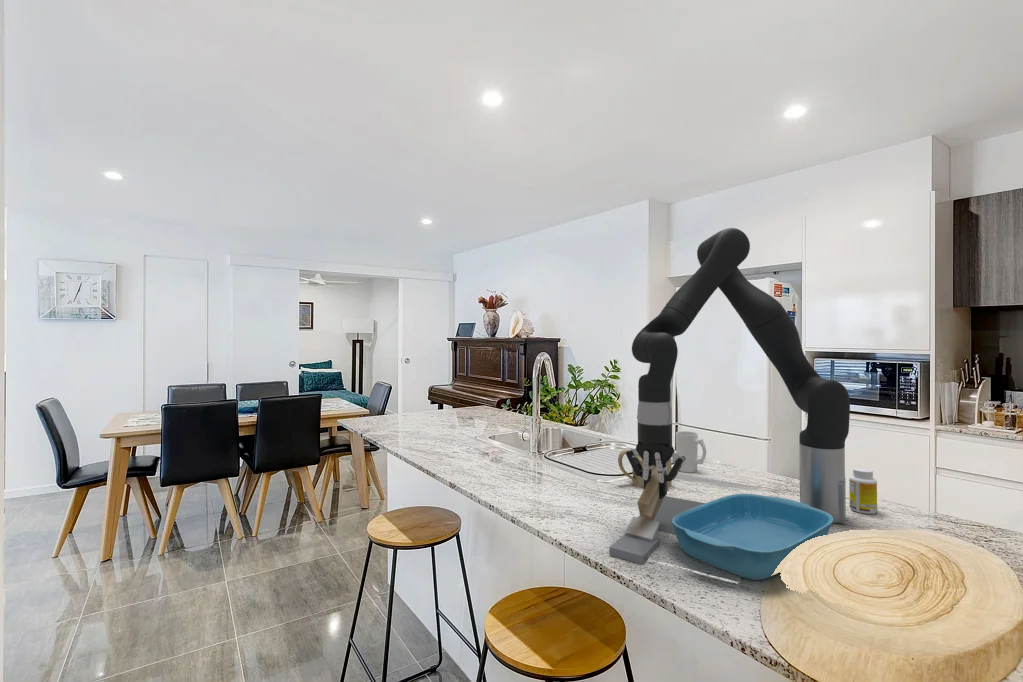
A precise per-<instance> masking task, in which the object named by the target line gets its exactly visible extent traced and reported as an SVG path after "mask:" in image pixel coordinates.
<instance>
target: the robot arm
mask: <svg viewBox="0 0 1023 682" xmlns="http://www.w3.org/2000/svg"><path fill="white" fill-rule="evenodd" d="M750 245H751V244H750V240H749V238H748V236H747V234H746V233H745V232H744V231H742V230H741V229H738V228H736V227H728V228H725V229H722V230H719V231H717V232H716V233H714V234H713V235H711V236H710V237H707V238H706V239H705V240H704V241H702V242H701V243H700V244H699V245H698V248H697V251H696V256H697V260H698V263H699V265H700V267H699V268H698V269H697V270H696V271H695V273H693V275H692V276H690V278H689V279H688V280H686V281H685V282H684V284H682V285H681V286H680V287H679V289H677V291H676V292H675V293H674V294H673V295H672V296H671V298H670V299H669V300H668V301H667V303H666V304H665V306H664V307H663V308H662V310H661V312H660V313H659V314H658V315H657V316H655V318H653V319H652V320H651V321H649V323H647V324H646V325H645V326H644V327H643V328H641V329H640V331H638V333H637V334H636V336H635V337H634V339H633V341H632V344H631V354H632V357H634V359H635V361H638V362H640V363H642V364H643V363H644V364H649V369H648V372H647V373H646V374H643V375H641V376H640V377H639V378H638V389H637V390H638V392H637V393H638V394H637V395H638V404H637V413H636V419H637V444H636V447H635V448H633V449H628V450H629V451H627V452H626V454H625V456H626V458H627V459H628V461H629V464H630V466H631V468H633V470H634V472H635V474H636V476H640V477H642V478H643V480H644V488H643V490H644V489H645V487H646V485H647V483H648V482H649V481H650V478H651V476H652V468H653V465H654V466H656V467H657V472H658V478H659V482H658V484H659V499H663V498H664V497H665V496H668V495H667V494H668V491H667V481H671V482H673V480H674V479H676V477H677V475H678V473H680V471H679V470H680V469H681V467H682V465H683V463H684V462H685V460H686V459H685V457H684V456H679V455H678V454H676V451H675V449H674V447H673V409H672V404H671V403H672V402H671V401H672V400H671V398H672V395H671V392H672V391H671V384H672V383H671V382H672V379H673V375H674V371H675V368H676V364H677V361H678V359H677V358H678V355H679V354H678V352H679V351H678V345H677V342H676V339H675V337H678V336H681V335H683V334H684V333H685V332H686V331H687V330H688V328H689V327H690V325H691V324H692V323H693V321H694V320H695V319H696V317H697V316H698V314H699V313H700V312H701V310H702V308H703V307H704V306H705V304H706V303H707V301H708V300H709V299H710V298H711V297H712V295H713V294H714V293H715V291H717V290H718V289H719V290H720V291H721V292H722V293H723V295H724V296H725V298H726V299H727V300H728V302H729V303H730V305H731V306H732V308H733V309H734V310H735V312H736V313H737V314H738V316H739V317H740V319H741V320H742V321H743V323H744V325H745V327H746V328H747V330H748V331H749V333H750V334H751V335H752V337H753V339H754V340H755V342H757V344H758V346H759V347H760V348H761V350H762V351H763V352H764V354H765V355H766V357H767V358H768V359H769V361H770V363H772V365H773V367H775V369H776V370H777V372H778V373H779V375H780V377H781V379H782V380H783V383H784V384H785V386H786V388H787V390H788V392H789V394H790V396H791V398H792V400H793V402H794V403H795V405H796V406H797V407H798V408H799V409H800V410H801V411H803V412H804V413H806V414H807V420H806V421H807V422H806V427H805V429H803V430H801V431H800V432H799V435H798V436H799V437H798V438H799V441H798V442H799V443H798V444H799V449H798V450H799V452H798V453H799V454H798V455H799V502H801V503H805V504H807V505H809V506H811V507H813V508H816V509H819V510H822V511H825V512H827V513H829V514H830V515H831V516H832V517H833V522H832V524H843V525H845V524H846V516H847V515H846V513H847V512H846V508H847V507H846V502H847V501H846V494H847V493H846V488H847V487H846V461H845V460H846V459H845V458H846V452H845V451H846V449H845V447H846V441H847V437H848V435H849V432H850V414H851V413H850V412H851V401H850V400H851V399H850V394H849V392H848V390H847V388H846V387H845V386H844V385H843V384H842V383H840V382H838V381H837V380H834V379H829V378H823V377H822V376H821V375H820V374H819V373H818V372H817V371H816V370H815V368H814V367H813V366H812V364H811V363H810V362H809V361H808V359H807V357H806V355H805V353H804V350H803V348H802V347H803V346H802V344H801V337H800V335H799V334H800V333H799V331H798V329H797V326H796V324H795V323H794V320H792V317H790V315H789V313H788V312H787V311H786V309H785V307H784V306H783V305H782V304H781V303H780V301H779V300H777V299H776V298H774V297H773V296H772V295H770V294H769V293H767V292H765V291H764V290H762V289H760V288H759V287H757V286H755V285H754V284H752V283H751V282H750V281H749V280H748V279H747V278H746V277H745V276H744V275H743V273H742V271H741V270H740V269H739V268H738V267H739V266H740V265H741V264H742V263H743V262H744V261H745V260H746V259H747V257H748V256H749V254H750V250H751V246H750ZM638 454H639V455H640V457H641V458H642V460H643V468H642V466H641V463H640V461H639V459H638ZM670 458H671V459H672V460H671V463H672V464H673V466H672V469H671V471H670V473H669V474H668V475H667V462H668V461H669V460H670ZM633 470H632V471H633Z"/></svg>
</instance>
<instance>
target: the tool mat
mask: <svg viewBox="0 0 1023 682" xmlns="http://www.w3.org/2000/svg"><path fill="white" fill-rule="evenodd" d="M705 503H706V502H700V501H696V500H691V499H690V500H689V499H684V498H679V497H673V496H668V495H666V496H665V497H664V499H663V502H662V504H661V506H660V508H659V510H658V512H657V514H656V516H655V518H654V521H657V522H660V527H659V529H658V531H657V532H661V533H665V534H671V535H674V536H676V533H675V529H674V526H673V524H672V519H673V517H674V516H676V515H677V514H679V513H682V512H684V511H686V510H689V509H692V508H694V507H697V506H700V505H702V504H705ZM637 517H638V518H641V517H640V515H639V516H637Z"/></svg>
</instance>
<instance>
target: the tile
mask: <svg viewBox="0 0 1023 682" xmlns="http://www.w3.org/2000/svg"><path fill="white" fill-rule="evenodd" d="M659 546H660V539H657V538H654V540H653V541H649V540H644V539H640V538H636V537H632V536H628V535H625V534H623V535H622V536H621V537H619V538H618V539H617V540H616V541H615V542H614V543H612V544H611V545H610V546H609V547H608V548H609V551H608V552H609V553H608V554H609V556H610V555H611V556H610V557H613V556H614V557H613V558H617V557H618V559H620V558H621V560H624V559H625V561H628V562H632V563H636V564H639V565H644V564H645V563H646V562H647V561H648V560H649V559H650V558H649V556H651V555H652V553H653V552H654V551H655V550H657V548H659Z"/></svg>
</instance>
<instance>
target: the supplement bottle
mask: <svg viewBox="0 0 1023 682" xmlns="http://www.w3.org/2000/svg"><path fill="white" fill-rule="evenodd" d="M852 470H853V471H852V475H850V476H849V478H848V479H849V480H848V481H849V484H848V485H849V487H848V488H849V491H848V492H849V508H850V510H852V511H854V512H856V513H859V514H865V515H866V514H867V515H873V514H876V513H877V512H878V481H877V479H876V478H875V477H874V474H873V473H874V470H873V469H870V468H866V467H853V469H852Z"/></svg>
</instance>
